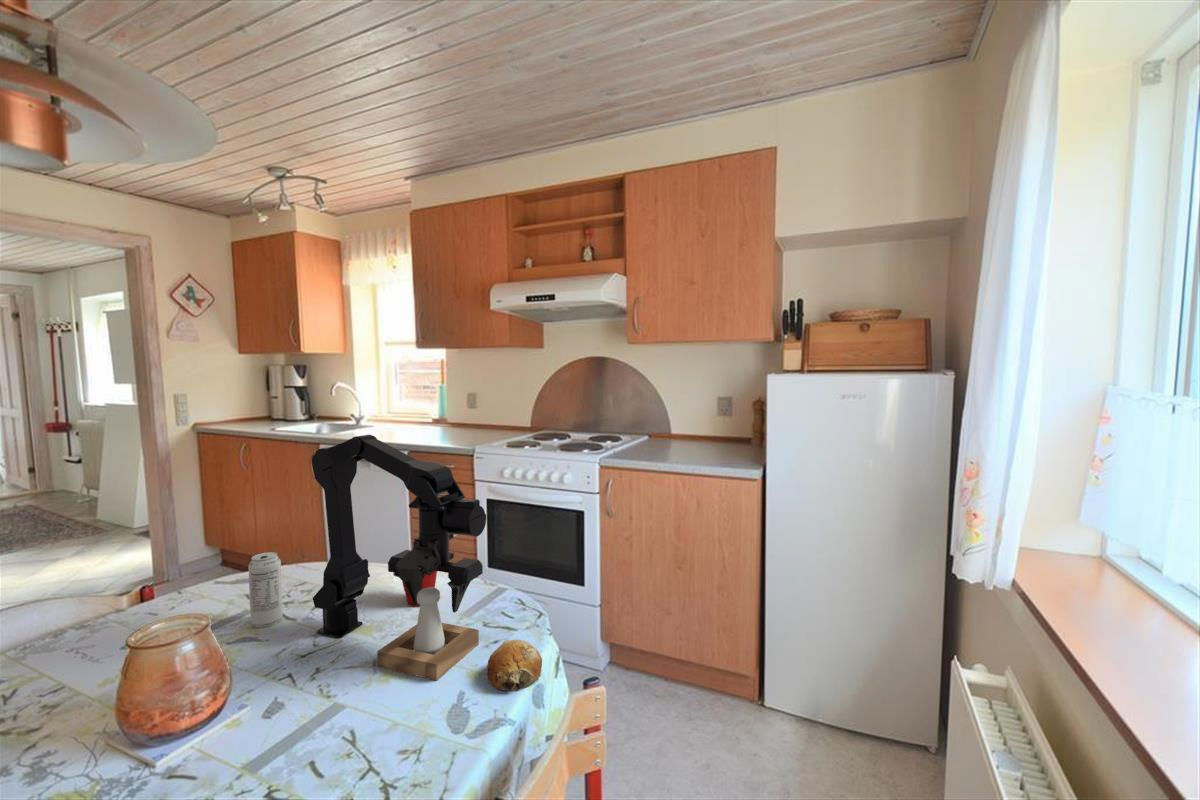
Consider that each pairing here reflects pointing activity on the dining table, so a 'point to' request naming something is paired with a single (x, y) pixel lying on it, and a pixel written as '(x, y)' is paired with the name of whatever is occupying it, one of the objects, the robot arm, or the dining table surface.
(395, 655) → the frame
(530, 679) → the bread roll
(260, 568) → the energy drink can
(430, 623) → the salt shaker
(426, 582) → the plastic cup
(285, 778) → the dining table surface
